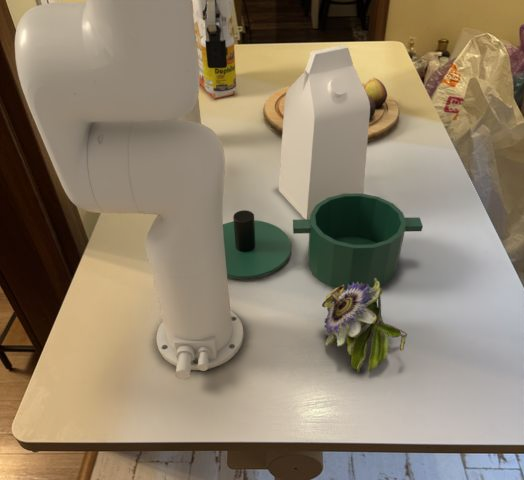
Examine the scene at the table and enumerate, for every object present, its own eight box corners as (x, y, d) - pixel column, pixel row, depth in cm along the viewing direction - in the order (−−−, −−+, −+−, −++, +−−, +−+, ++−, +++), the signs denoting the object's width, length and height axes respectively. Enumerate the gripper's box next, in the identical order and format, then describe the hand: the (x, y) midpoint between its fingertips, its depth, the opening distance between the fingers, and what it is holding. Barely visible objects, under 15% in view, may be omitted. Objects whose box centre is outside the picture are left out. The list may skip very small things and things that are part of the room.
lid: (292, 280, 84) (293, 244, 78) (196, 282, 84) (191, 246, 79) (289, 224, 94) (290, 189, 89) (204, 226, 95) (199, 190, 89)
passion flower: (329, 360, 79) (318, 283, 77) (401, 350, 78) (392, 271, 75) (329, 382, 69) (316, 293, 66) (413, 371, 67) (403, 280, 64)
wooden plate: (269, 87, 135) (269, 52, 129) (393, 89, 132) (398, 54, 126) (257, 147, 114) (255, 109, 108) (404, 150, 111) (411, 111, 105)
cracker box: (194, 80, 139) (183, -12, 124) (214, 76, 141) (206, -16, 125) (212, 100, 131) (203, 3, 115) (234, 95, 132) (228, -1, 117)
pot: (420, 290, 82) (432, 246, 75) (293, 292, 82) (295, 248, 76) (404, 235, 91) (413, 192, 85) (290, 237, 92) (291, 194, 85)
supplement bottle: (215, 98, 89) (209, 31, 81) (199, 88, 92) (192, 22, 84) (242, 91, 91) (239, 24, 83) (226, 81, 94) (222, 16, 86)
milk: (331, 175, 105) (343, 32, 86) (362, 203, 98) (383, 54, 79) (278, 190, 102) (278, 44, 83) (306, 220, 95) (314, 69, 76)
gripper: (231, -66, 69) (239, 79, 82) (236, -87, 80) (242, 43, 94) (175, -64, 69) (191, 80, 82) (188, -85, 81) (201, 44, 94)
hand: (218, 59), depth 88 cm, fingers closed on supplement bottle, 5 cm apart
